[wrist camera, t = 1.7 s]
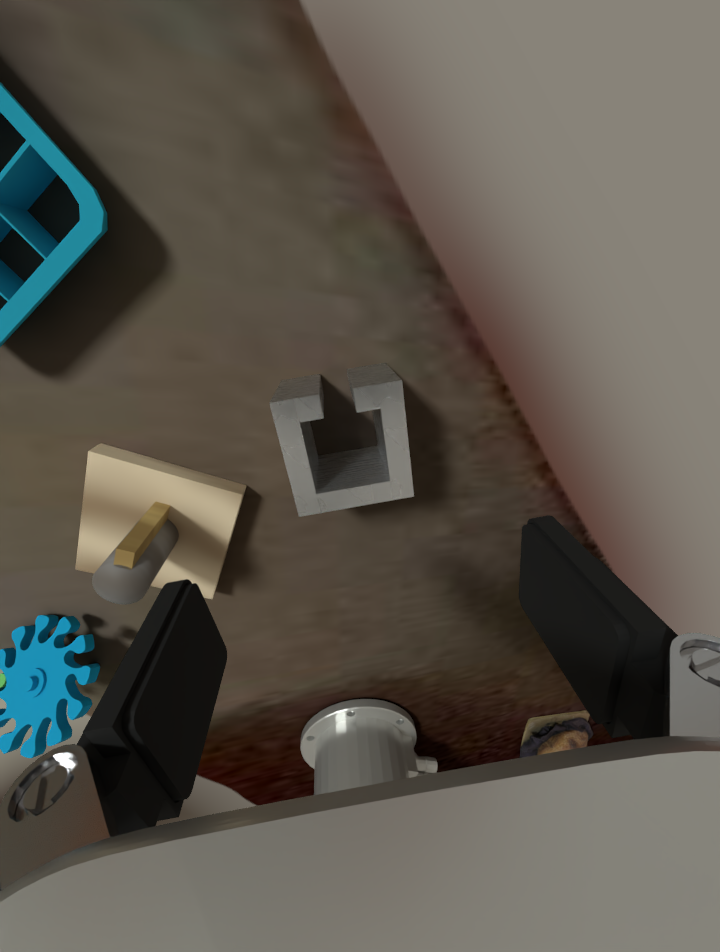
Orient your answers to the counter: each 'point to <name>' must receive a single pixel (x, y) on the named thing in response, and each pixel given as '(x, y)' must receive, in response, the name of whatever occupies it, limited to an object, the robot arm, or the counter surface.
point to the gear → (43, 683)
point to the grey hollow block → (351, 471)
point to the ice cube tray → (5, 207)
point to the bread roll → (555, 733)
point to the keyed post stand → (152, 524)
